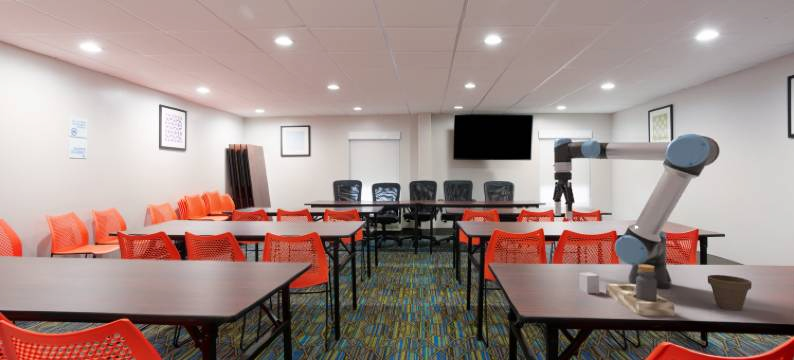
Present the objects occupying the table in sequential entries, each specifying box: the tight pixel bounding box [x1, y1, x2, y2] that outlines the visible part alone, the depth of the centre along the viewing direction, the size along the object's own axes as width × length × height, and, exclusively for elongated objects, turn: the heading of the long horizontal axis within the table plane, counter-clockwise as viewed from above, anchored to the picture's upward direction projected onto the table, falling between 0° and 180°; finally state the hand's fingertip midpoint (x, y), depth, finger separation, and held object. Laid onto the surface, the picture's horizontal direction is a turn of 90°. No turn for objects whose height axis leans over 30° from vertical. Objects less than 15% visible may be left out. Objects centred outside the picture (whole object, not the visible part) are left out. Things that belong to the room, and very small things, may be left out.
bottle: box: [636, 264, 658, 302], centre depth 127 cm, size 6×6×15 cm
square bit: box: [579, 271, 600, 294], centre depth 147 cm, size 5×5×7 cm
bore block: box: [605, 283, 675, 317], centre depth 133 cm, size 11×22×4 cm, turn 176°
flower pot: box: [707, 274, 752, 311], centre depth 129 cm, size 12×11×10 cm
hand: (563, 217), depth 174 cm, fingers open, 13 cm apart
